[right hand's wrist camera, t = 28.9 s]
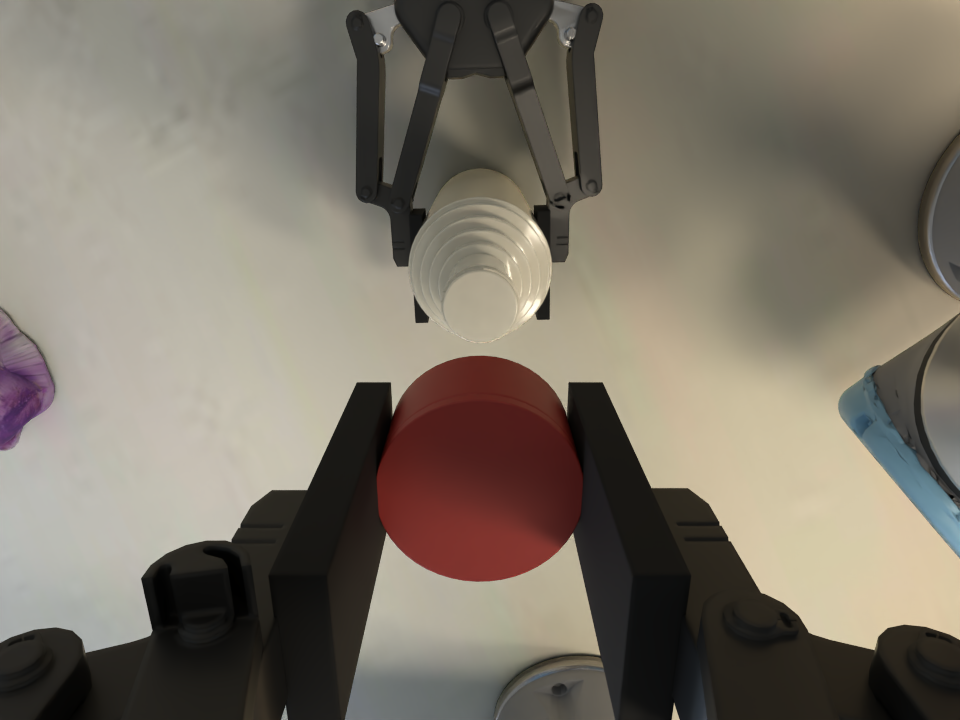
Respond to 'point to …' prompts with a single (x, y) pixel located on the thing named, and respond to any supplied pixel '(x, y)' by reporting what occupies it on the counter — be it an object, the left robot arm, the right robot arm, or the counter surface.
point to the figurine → (20, 383)
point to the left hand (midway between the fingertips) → (482, 314)
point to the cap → (479, 471)
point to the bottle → (480, 258)
